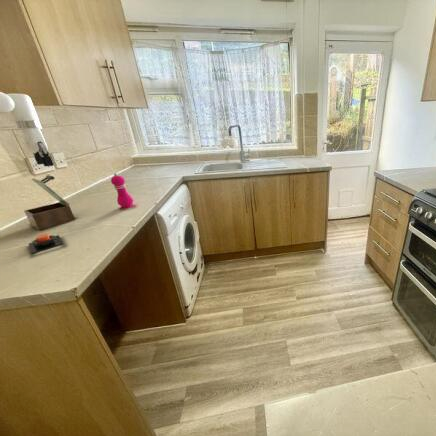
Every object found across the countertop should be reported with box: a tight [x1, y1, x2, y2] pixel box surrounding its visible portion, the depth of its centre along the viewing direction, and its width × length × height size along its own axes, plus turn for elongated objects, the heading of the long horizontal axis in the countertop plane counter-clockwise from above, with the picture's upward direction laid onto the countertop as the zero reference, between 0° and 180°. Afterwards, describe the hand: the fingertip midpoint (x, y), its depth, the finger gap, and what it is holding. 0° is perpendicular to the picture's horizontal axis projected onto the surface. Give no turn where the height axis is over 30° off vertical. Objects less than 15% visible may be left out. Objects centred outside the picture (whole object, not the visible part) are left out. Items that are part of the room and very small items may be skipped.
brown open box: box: [23, 201, 76, 232], centre depth 117 cm, size 13×11×8 cm
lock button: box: [35, 233, 50, 242], centre depth 94 cm, size 4×4×2 cm
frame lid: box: [31, 174, 70, 206], centre depth 117 cm, size 14×11×6 cm
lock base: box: [28, 234, 64, 255], centre depth 95 cm, size 11×9×4 cm
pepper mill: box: [110, 172, 135, 210], centre depth 130 cm, size 7×7×20 cm
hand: (45, 164), depth 113 cm, fingers open, 9 cm apart
